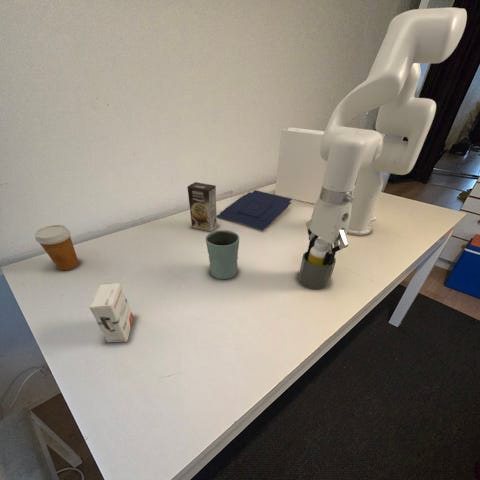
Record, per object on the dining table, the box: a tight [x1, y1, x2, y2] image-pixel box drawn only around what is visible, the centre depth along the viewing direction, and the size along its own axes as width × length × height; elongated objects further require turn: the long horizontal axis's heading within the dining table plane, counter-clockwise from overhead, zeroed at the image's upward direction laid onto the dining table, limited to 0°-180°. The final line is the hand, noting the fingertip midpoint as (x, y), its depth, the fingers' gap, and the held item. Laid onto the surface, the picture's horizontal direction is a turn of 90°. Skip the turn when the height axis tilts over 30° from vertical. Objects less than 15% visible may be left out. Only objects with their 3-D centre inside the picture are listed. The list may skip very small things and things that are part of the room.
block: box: [274, 126, 327, 205], centre depth 124 cm, size 35×8×28 cm, turn 57°
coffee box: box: [187, 181, 218, 233], centre depth 104 cm, size 9×6×16 cm
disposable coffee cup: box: [34, 224, 80, 271], centre depth 83 cm, size 10×10×12 cm
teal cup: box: [205, 229, 240, 280], centre depth 82 cm, size 10×10×12 cm
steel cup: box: [298, 250, 337, 290], centre depth 81 cm, size 10×10×8 cm
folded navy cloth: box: [217, 189, 293, 232], centre depth 119 cm, size 24×30×4 cm
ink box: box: [89, 282, 134, 343], centre depth 63 cm, size 9×5×12 cm, turn 5°
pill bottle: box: [308, 237, 329, 266], centre depth 78 cm, size 6×6×11 cm
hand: (319, 257), depth 78 cm, fingers closed on pill bottle, 6 cm apart
